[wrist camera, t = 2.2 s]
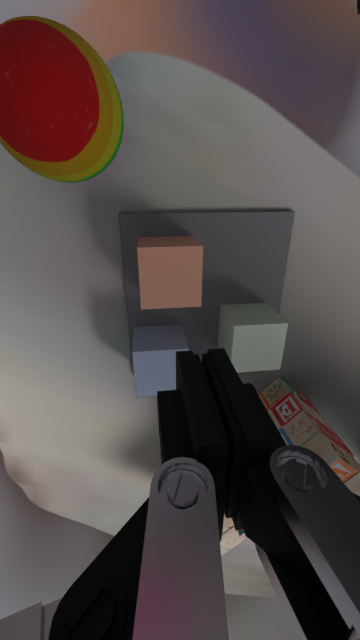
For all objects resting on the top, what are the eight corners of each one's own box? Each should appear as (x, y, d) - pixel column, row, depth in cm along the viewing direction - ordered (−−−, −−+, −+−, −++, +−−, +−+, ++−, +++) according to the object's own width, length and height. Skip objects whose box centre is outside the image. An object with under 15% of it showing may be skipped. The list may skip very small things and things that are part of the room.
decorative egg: (35, 27, 20) (-55, -109, 11) (143, 101, 22) (144, 42, 13) (1, 146, 22) (-94, 119, 13) (101, 201, 25) (78, 210, 16)
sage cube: (266, 302, 30) (288, 323, 26) (261, 344, 32) (280, 369, 28) (220, 304, 30) (234, 326, 25) (217, 346, 32) (230, 373, 27)
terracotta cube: (192, 235, 26) (203, 245, 22) (191, 287, 28) (201, 306, 24) (138, 236, 26) (137, 247, 21) (141, 289, 28) (141, 309, 23)
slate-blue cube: (181, 324, 30) (188, 348, 26) (181, 364, 32) (188, 393, 28) (133, 326, 30) (132, 352, 25) (137, 367, 32) (136, 397, 27)
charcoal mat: (292, 211, 27) (294, 211, 26) (269, 363, 34) (270, 365, 34) (119, 213, 25) (119, 213, 25) (133, 373, 32) (133, 375, 32)
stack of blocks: (198, 490, 43) (217, 596, 32) (166, 474, 40) (175, 583, 29) (308, 398, 37) (378, 487, 26) (279, 374, 35) (341, 460, 24)
